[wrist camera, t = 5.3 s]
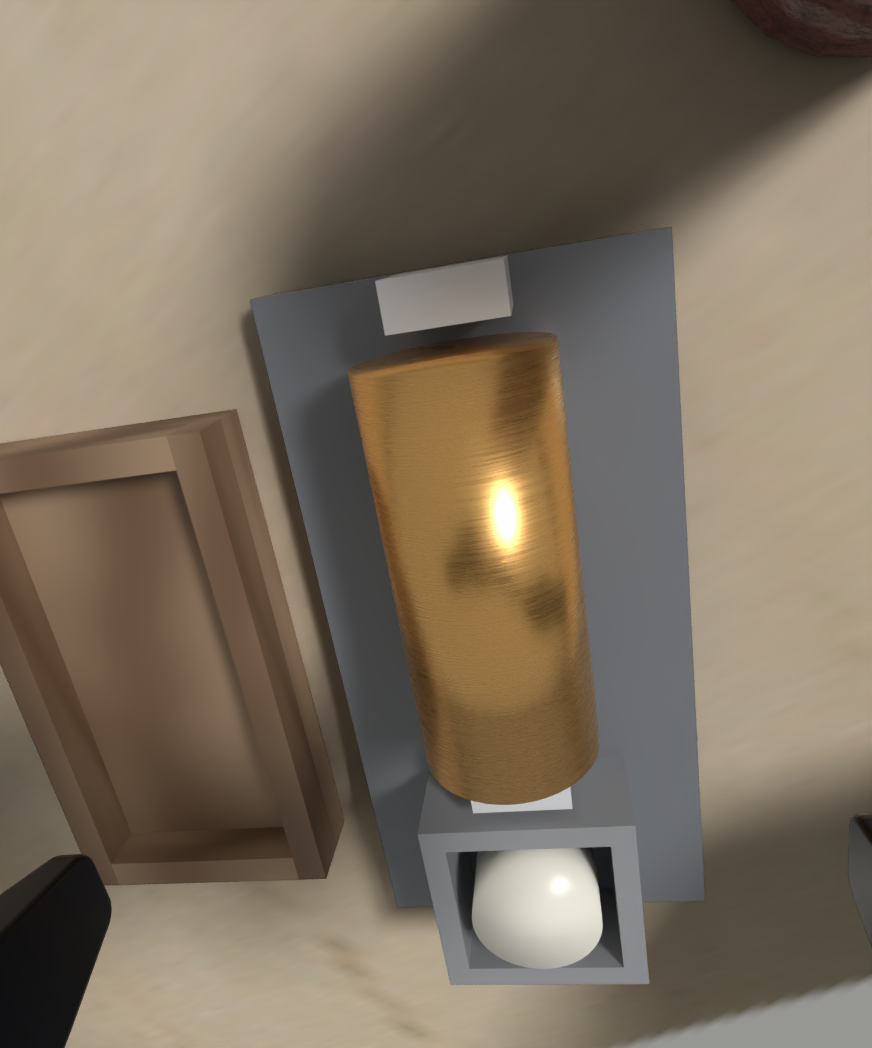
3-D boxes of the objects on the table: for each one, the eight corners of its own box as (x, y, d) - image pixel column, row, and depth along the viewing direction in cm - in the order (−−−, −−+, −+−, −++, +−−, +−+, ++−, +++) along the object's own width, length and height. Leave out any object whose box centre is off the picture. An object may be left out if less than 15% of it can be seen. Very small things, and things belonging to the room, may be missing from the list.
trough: (236, 409, 18) (199, 431, 16) (344, 821, 23) (326, 878, 21) (-18, 446, 19) (-82, 471, 17) (132, 830, 24) (95, 885, 22)
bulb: (590, 815, 19) (596, 871, 17) (601, 907, 20) (607, 968, 18) (468, 820, 20) (462, 875, 18) (485, 910, 21) (481, 969, 19)
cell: (553, 324, 15) (562, 352, 12) (594, 707, 19) (611, 822, 15) (370, 352, 16) (324, 388, 12) (440, 717, 19) (420, 831, 16)
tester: (663, 227, 16) (698, 226, 12) (697, 872, 22) (726, 983, 19) (265, 296, 17) (203, 310, 14) (402, 881, 23) (382, 985, 20)
